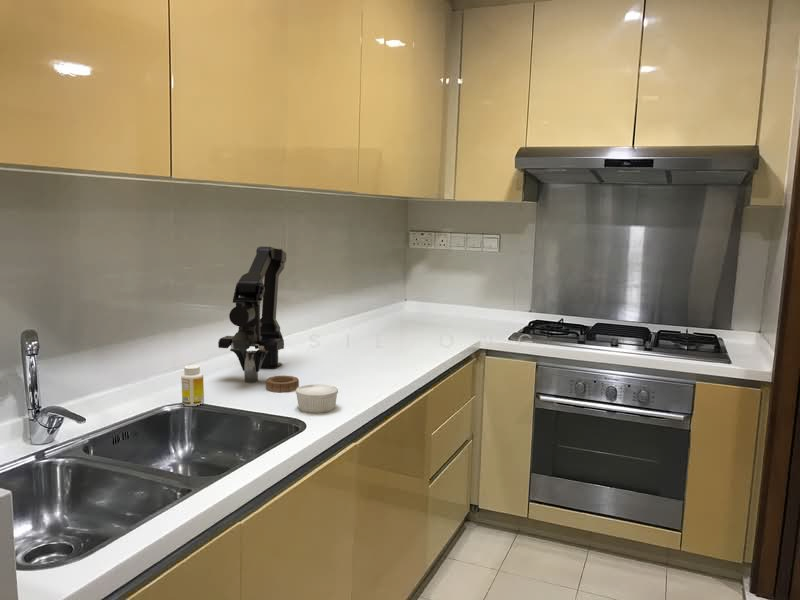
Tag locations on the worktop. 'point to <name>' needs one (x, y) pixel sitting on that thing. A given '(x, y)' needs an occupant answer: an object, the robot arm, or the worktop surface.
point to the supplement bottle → (192, 386)
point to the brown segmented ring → (282, 383)
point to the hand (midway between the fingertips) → (251, 371)
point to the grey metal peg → (250, 367)
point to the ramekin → (316, 398)
